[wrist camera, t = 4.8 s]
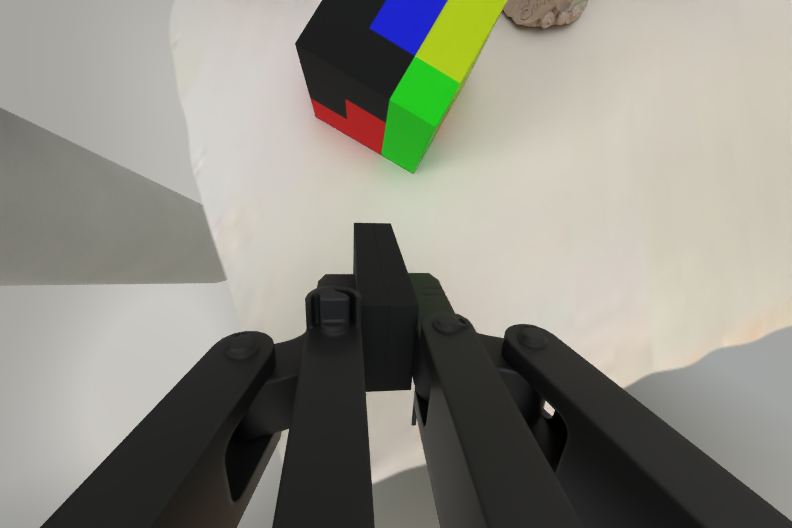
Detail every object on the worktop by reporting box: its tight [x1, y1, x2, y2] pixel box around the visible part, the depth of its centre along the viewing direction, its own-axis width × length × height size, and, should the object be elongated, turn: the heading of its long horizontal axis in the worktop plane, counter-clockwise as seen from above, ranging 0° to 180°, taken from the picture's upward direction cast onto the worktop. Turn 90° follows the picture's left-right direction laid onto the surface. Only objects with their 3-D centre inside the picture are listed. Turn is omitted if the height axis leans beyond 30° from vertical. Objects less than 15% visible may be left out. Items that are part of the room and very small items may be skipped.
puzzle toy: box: [295, 0, 507, 173], centre depth 28 cm, size 10×10×10 cm
